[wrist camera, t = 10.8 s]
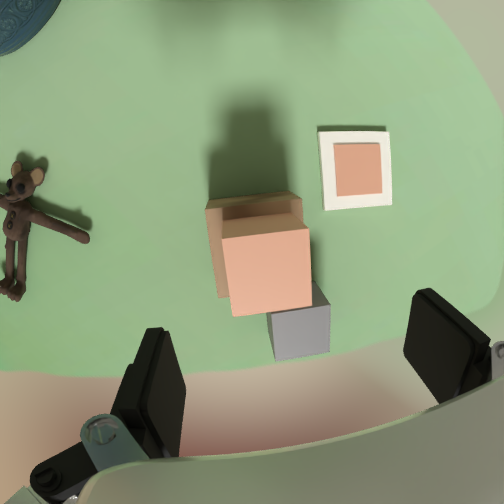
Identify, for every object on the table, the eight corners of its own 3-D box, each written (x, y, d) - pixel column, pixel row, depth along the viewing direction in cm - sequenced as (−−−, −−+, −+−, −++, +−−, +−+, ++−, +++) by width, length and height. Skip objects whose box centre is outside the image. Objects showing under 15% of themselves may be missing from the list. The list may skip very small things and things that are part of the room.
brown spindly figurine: (-43, 268, 23) (-41, 148, 18) (-24, 254, 27) (-16, 142, 22) (68, 333, 26) (87, 199, 21) (84, 310, 30) (108, 188, 25)
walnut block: (288, 190, 27) (301, 198, 22) (293, 264, 29) (306, 286, 24) (208, 199, 26) (204, 209, 22) (219, 274, 28) (218, 298, 24)
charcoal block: (314, 281, 29) (330, 304, 25) (315, 324, 31) (329, 351, 26) (263, 288, 29) (271, 314, 24) (268, 331, 31) (275, 361, 26)
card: (385, 132, 25) (389, 131, 24) (389, 203, 27) (393, 205, 27) (317, 132, 25) (319, 131, 24) (322, 209, 27) (325, 210, 26)
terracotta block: (291, 212, 22) (309, 228, 17) (295, 275, 24) (312, 305, 19) (222, 220, 22) (221, 239, 17) (231, 284, 23) (232, 316, 19)
